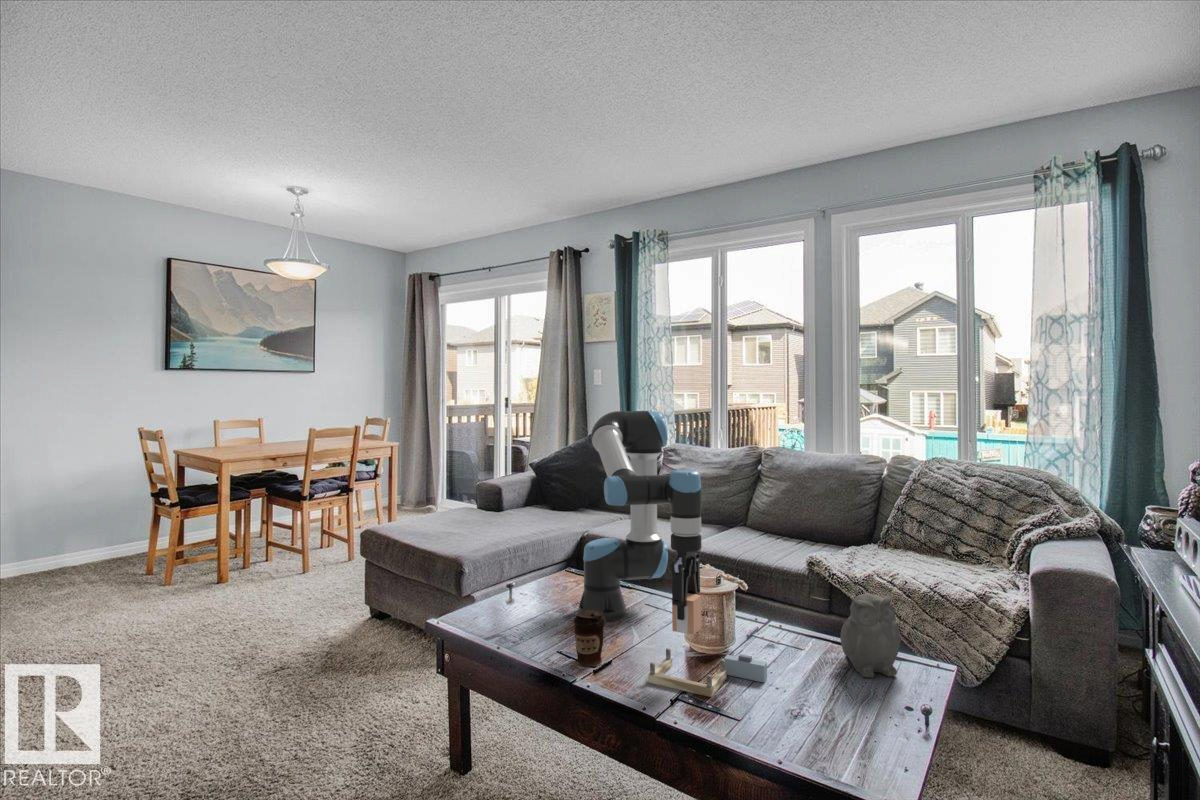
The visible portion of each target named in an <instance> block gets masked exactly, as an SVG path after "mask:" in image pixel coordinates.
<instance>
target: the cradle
mask: <svg viewBox="0 0 1200 800" xmlns="http://www.w3.org/2000/svg"><path fill="white" fill-rule="evenodd" d="M671 656H672V655H671V648H666V649H665V658H664V659H663V661H661V662H659V664H658V665H657V666H656V663H655V662H649V673H648V678H647V679H648V683H649V684H653V685H657V686H662V687H666V688H671V689H675V690H679V691H683V692H686V693H687V692H688V693H692V694H697V695H700V696H705V697H709V698H712V697H713V696H714V695H715V694H716V692H717V691H718V690H719V688H720V687H721V686H722V685H723V683H724V682H725V681H726V680H727V676H728V675H727V670H725V660H724V658H721V659H719V670H718V671H717V672H716V674H715V675H714V676H713V675H712V674H706V683H702V682H697V681H693V680H688V679H684V678H679V677H674V676H671V675H666V673H667V672H668V671H669V670H671V668H673V658H672V657H671Z"/></svg>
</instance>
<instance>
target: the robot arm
mask: <svg viewBox="0 0 1200 800" xmlns="http://www.w3.org/2000/svg"><path fill="white" fill-rule="evenodd" d="M590 440H591V443H592V446H593V448H594V450H595V451H597V452H598V454H599V457H600V460H601V463H602V466H603V469H604V471H605V472H604V473H606V478H605V479H604V481H603V496H604V500H605V503H606V505H609V506H619V507H623V506H630V531H629V532H628V534H627V535H626V536H625V542H621V540H620V539H619V538H617V537H603V538H596V539H594V540H591V541H589V542H587V543H586V544H585V546H584V549H583V558H582V561H583V586H584V587H583V592H582V595H581V598H580V601H579V605H578V612H582V611H586V610H597V611H601V612H603V616H604V617H605V618H606V620H605V622H611V621H617V620H619V619H622V618H624V617H625V616H626V615H627V614H626V613H627V606H626V603H625V600H624V596H623V594H622V590H621V581H628V580H629V581H630V580H631V581H632V580H646V579H647V580H652V579H659V578H661V577H662V576H664V574H665V573H666V570H667V568H668V562H669V561H668V560H669V552H668V544H667V542H665V541H664V540H663V538H662V535H661V534H660V532H659V531H658V505H669V507H670V518H669V523H670V532H671V534H670V549H672V551H675V552H676V559H675V563H673V562H672V563H671V572H672V573H671V574H672V575H671V576H672V577H671V578H672V579H671V581H672V582H671V584H672V585H671V588H672V589H671V593H672V595H671V597H672V598H671V605H672V604H673V605H676V620H677V632H676V633H682V634H687V633H688V605H686V602H687V593H690V594H697V595H701V596H702V594H700V593H701V577H700V576H701V572H700V571H701V567H700V566H701V565H700V562H701V561H700V560H701V554H700V553H696V552H699V551H701V549H702V535H701V533H702V528H703V527H702V481H701V474H700V472H699V471H697V470H691V469H677V470H673V471H671V472H670V473H664V474H658V457H660V455H661V454H662V453H663V451H662V450H663V449H662V448H664V447H666V446H667V445H668V440H669V439H668V428H667V424H666V421H665V418H664V416H663V414H662V413H661V412H659V411H652V410H628V411H627V410H625V411H620V410H618V411H610V412H607V413H606V414H604V415H602V416H601V417H600V418H599V419H597V420H596V422H595V423H594V425H593V427H592V429H591V433H590Z"/></svg>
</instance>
